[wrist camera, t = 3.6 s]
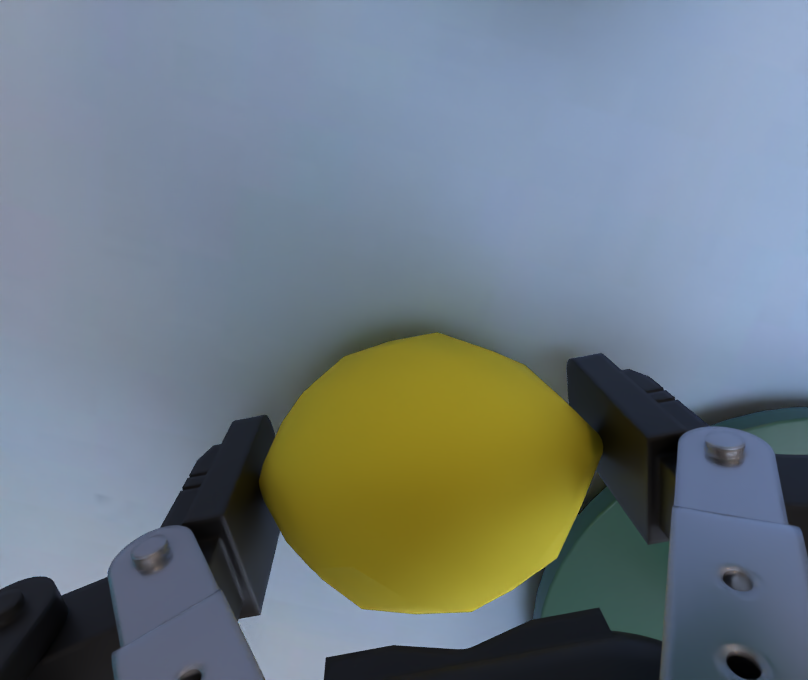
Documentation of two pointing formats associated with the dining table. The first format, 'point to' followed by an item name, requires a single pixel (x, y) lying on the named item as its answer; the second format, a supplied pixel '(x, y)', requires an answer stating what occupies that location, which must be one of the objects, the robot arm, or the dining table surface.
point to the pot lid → (637, 546)
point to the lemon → (428, 475)
